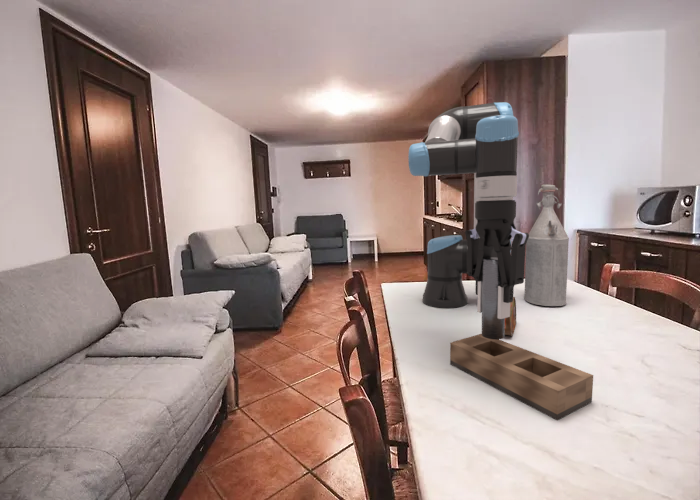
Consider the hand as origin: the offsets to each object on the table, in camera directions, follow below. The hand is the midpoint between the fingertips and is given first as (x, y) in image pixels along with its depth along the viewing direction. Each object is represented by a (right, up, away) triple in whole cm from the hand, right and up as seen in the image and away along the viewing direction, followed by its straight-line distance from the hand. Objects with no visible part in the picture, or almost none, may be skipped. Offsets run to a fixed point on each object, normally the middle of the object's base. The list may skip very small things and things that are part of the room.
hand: (493, 313), depth 74 cm
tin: (+14, -9, +25) cm, 30 cm away
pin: (0, -5, +1) cm, 5 cm away
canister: (+38, -5, +50) cm, 63 cm away
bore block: (+3, -13, -3) cm, 13 cm away
